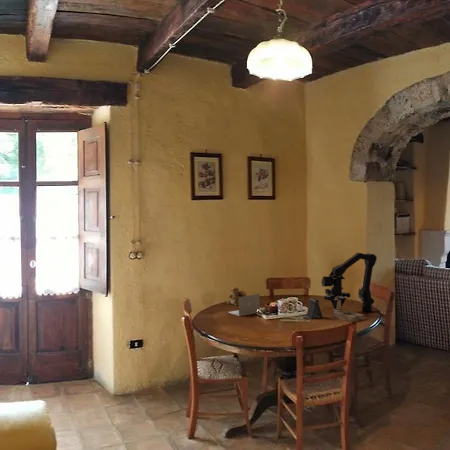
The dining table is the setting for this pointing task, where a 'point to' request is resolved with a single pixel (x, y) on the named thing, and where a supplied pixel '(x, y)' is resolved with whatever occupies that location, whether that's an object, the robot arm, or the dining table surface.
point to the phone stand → (314, 309)
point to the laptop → (247, 305)
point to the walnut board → (349, 316)
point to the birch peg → (338, 306)
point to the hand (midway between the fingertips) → (337, 308)
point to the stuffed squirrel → (236, 295)
